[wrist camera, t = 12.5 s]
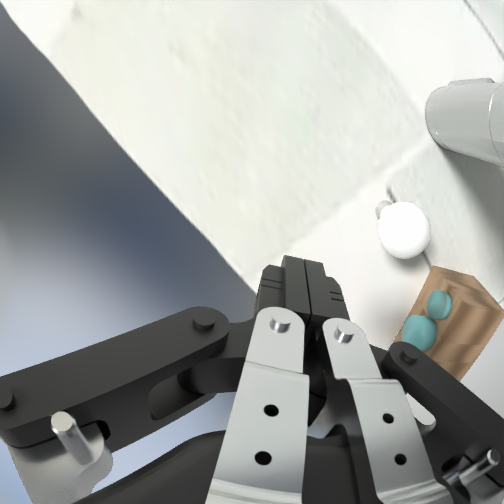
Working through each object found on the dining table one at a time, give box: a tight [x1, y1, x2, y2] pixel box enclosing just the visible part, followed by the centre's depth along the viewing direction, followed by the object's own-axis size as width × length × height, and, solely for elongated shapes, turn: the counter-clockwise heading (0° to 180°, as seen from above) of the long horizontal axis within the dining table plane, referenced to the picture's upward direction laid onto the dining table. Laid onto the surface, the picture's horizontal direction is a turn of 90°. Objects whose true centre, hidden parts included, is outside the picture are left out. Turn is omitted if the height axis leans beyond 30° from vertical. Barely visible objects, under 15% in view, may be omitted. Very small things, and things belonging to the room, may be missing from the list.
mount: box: [393, 266, 504, 381], centre depth 38 cm, size 12×16×11 cm
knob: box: [402, 315, 438, 351], centre depth 37 cm, size 15×5×5 cm, turn 79°
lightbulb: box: [376, 201, 431, 259], centre depth 32 cm, size 6×6×11 cm
